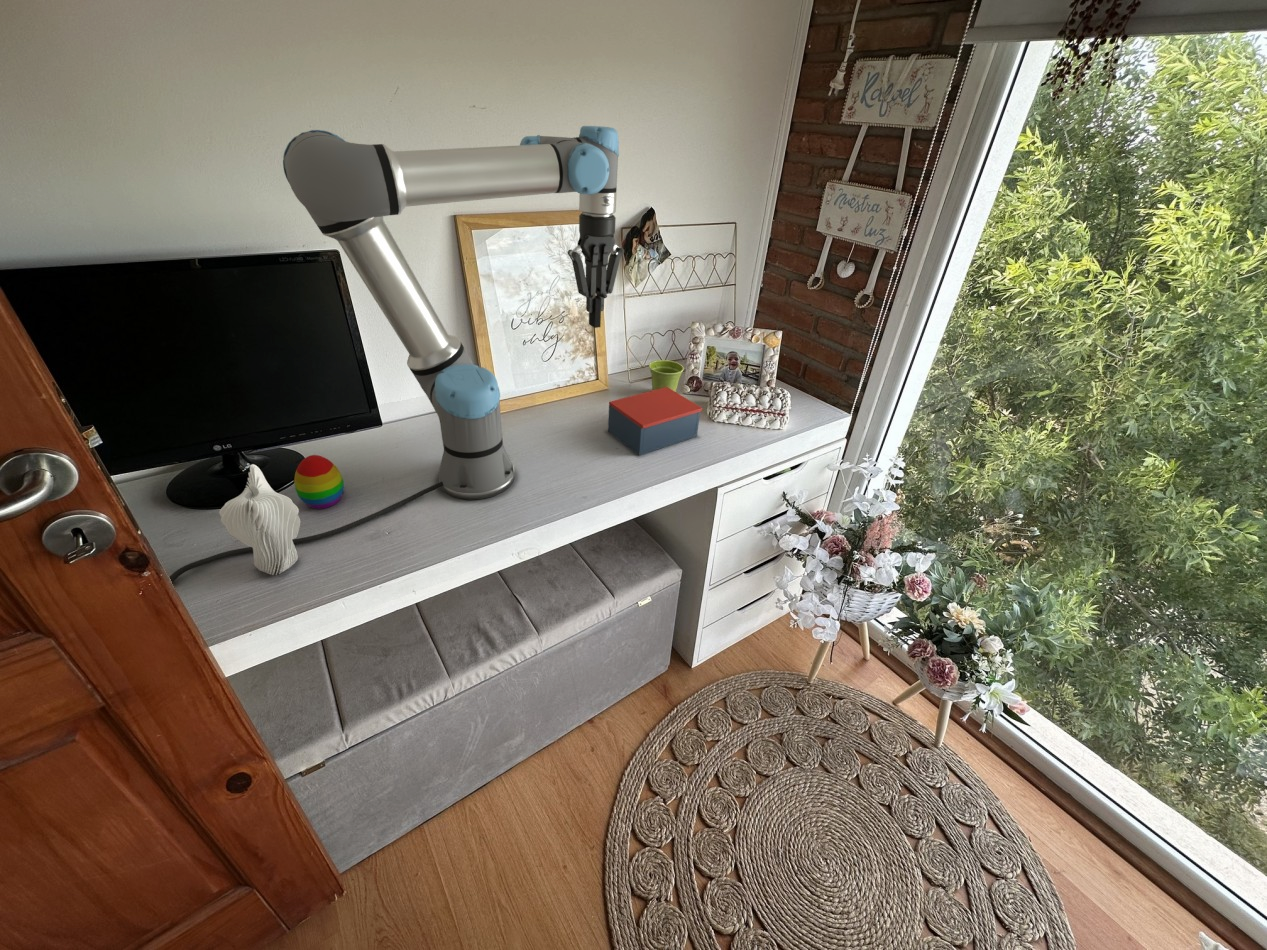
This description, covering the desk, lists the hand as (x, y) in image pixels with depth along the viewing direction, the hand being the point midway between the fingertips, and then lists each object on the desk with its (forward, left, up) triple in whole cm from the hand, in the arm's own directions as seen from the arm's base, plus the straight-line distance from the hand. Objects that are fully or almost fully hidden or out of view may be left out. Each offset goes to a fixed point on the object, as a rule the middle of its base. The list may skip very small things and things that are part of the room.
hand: (594, 325), depth 132 cm
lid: (+9, -13, -18) cm, 24 cm away
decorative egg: (-63, -1, -25) cm, 67 cm away
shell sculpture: (-73, -17, -25) cm, 79 cm away
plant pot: (+25, +4, -25) cm, 36 cm away
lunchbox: (+9, -12, -25) cm, 29 cm away
